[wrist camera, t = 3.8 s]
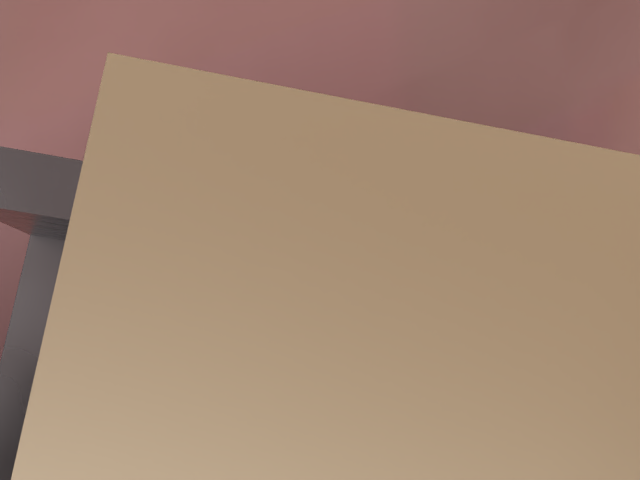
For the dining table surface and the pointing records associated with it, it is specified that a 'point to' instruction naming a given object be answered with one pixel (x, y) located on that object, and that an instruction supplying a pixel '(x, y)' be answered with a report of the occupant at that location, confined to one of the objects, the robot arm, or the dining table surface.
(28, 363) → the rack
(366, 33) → the dining table surface
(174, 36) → the dining table surface
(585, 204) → the birch board
